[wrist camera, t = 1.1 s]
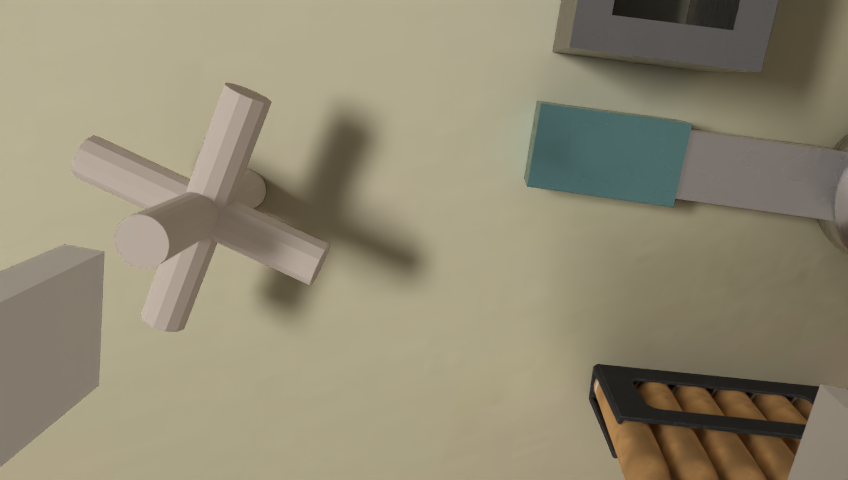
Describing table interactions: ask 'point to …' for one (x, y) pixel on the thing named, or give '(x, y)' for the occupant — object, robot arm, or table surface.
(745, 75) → the table surface
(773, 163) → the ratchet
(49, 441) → the table surface
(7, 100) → the table surface
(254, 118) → the pipe connector
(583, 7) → the socket
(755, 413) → the ammunition clip
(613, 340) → the table surface
